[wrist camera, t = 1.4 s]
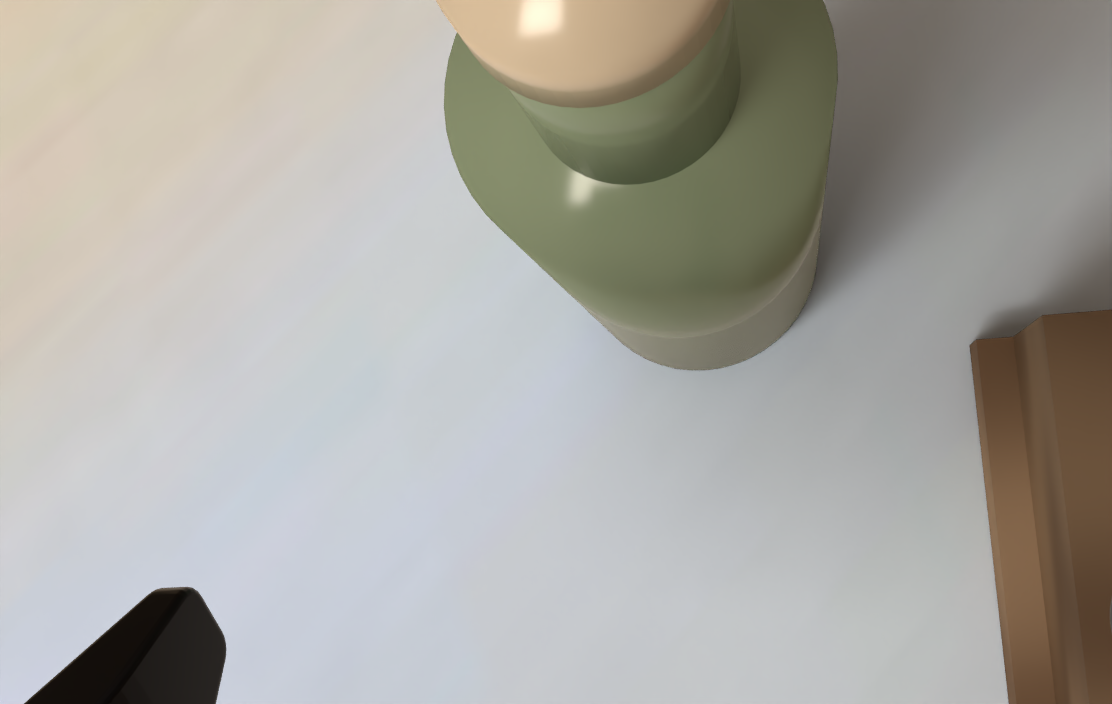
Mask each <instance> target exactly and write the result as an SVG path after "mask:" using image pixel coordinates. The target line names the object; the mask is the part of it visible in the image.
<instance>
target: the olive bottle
mask: <svg viewBox="0 0 1112 704" xmlns="http://www.w3.org/2000/svg"><path fill="white" fill-rule="evenodd" d="M436 1H437V3H438V5H439V6H440V8H441V10H442V12H443V13H444V14H445V16H446V17H447V19H448V20H449V21H450V23H451V24H452V26H453V27H454V28H455V30H456V31H457V34H456V36H455V39H454V43H453V46H452V50H451V53H450V56H449V60H448V66H447V73H446V79H445V93H444V111H445V121H446V131H447V135H448V139H449V143H450V148H451V152H452V155H453V158H454V160H455V163H456V165H457V168H458V170H459V173H460V175H461V177H462V179H463V181H464V183H465V184H466V186H467V188H468V190H469V192H470V193H471V195H472V197H473V198H474V199H475V201H476V202H477V203H478V205H479V206H480V207H481V209H482V210H483V211H484V213H485V214H486V215H487V216H488V217H489V218H490V219H491V220H492V221H493V222H494V223H495V224H496V225H497V226H498V227H499V228H500V229H501V230H502V231H503V232H504V233H505V234H506V235H507V236H508V237H509V238H510V239H512V240H513V241H514V242H515V243H516V244H517V245H518V246H519V247H520V248H521V249H522V250H523V251H524V252H525V253H526V254H527V255H529V256H530V257H531V258H532V259H533V260H534V261H535V262H536V263H537V264H538V265H539V266H540V267H541V268H542V269H543V270H544V271H545V272H547V273H548V274H549V275H550V276H551V277H552V278H553V279H554V280H555V281H556V282H557V283H558V284H559V285H560V286H561V287H562V288H564V289H565V290H566V291H567V292H568V293H569V294H570V295H571V296H572V297H573V298H574V299H575V300H576V301H577V302H578V303H579V304H581V305H582V306H583V307H584V308H585V309H586V310H587V311H588V312H589V313H590V314H591V315H592V316H593V317H594V318H595V319H596V320H598V321H599V322H600V323H601V324H602V325H603V326H604V327H605V328H606V329H607V330H608V331H609V332H610V333H611V334H612V335H613V336H615V337H616V338H617V339H618V340H619V341H620V342H621V343H622V344H623V345H625V346H626V347H627V348H629V349H630V350H631V351H633V352H634V353H636V354H638V355H640V356H641V357H643V358H645V359H647V360H650V361H652V362H655V363H657V364H660V365H663V366H667V367H671V368H675V369H683V370H711V369H718V368H723V367H727V366H730V365H734V364H737V363H740V362H742V361H744V360H747V359H749V358H751V357H753V356H755V355H757V354H758V353H760V352H762V351H763V350H765V349H766V348H768V347H769V346H770V345H772V344H773V343H774V342H775V341H777V340H778V339H779V338H780V337H781V336H782V335H783V334H784V333H785V332H786V331H787V330H788V329H789V327H790V326H791V325H792V324H793V322H794V321H795V320H796V318H797V317H798V316H799V314H800V312H801V310H802V309H803V307H804V305H805V303H806V301H807V299H808V296H809V294H810V291H811V289H812V285H813V281H814V277H815V273H816V265H817V256H818V248H819V239H820V230H821V221H822V213H823V204H824V195H825V186H826V177H827V169H828V160H829V151H830V142H831V134H832V125H833V116H834V107H835V99H836V90H837V81H838V74H837V51H836V45H835V39H834V33H833V28H832V25H831V22H830V19H829V16H828V12H827V9H826V6H825V4H824V2H823V0H436Z"/></svg>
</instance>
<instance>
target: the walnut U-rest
mask: <svg viewBox="0 0 1112 704" xmlns="http://www.w3.org/2000/svg"><path fill="white" fill-rule="evenodd" d="M970 353H971V362H972V371H973V380H974V389H975V399H976V408H977V417H978V426H979V435H980V444H981V453H982V462H983V472H984V481H985V490H986V499H987V508H988V517H989V526H990V535H991V545H992V554H993V563H994V572H995V581H996V590H997V599H998V608H999V618H1000V627H1001V636H1002V645H1003V654H1004V663H1005V672H1006V681H1007V691H1008V700H1009V704H1112V631H1111V625H1110V605H1111V599H1112V310H1102V311H1090V312H1077V313H1065V314H1052V315H1042V316H1041V317H1040V318H1038V319H1037V320H1035V321H1034V322H1033V323H1031V324H1030V325H1029V326H1027V327H1026V328H1025V329H1023V330H1022V331H1021V332H1019V333H1018V334H1016V335H1015V336H1014V337H1005V338H992V339H979V340H975V341H974V342H973V343H972V344H971V345H970Z"/></svg>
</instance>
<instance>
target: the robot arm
mask: <svg viewBox="0 0 1112 704" xmlns="http://www.w3.org/2000/svg"><path fill="white" fill-rule="evenodd" d="M1110 625H1111V631H1112V599H1111V605H1110ZM225 658H226V642H225V638H224V635H223V633H222V631H221V629H220V627H219V626H218V624H217V622H216V620H215V619H214V617H213V615H212V614H211V612H210V610H209V608H208V607H207V605H206V603H205V602H204V600H203V598H202V596H201V595H200V594H199V592H198V591H196V590H195V589H193V588H191V587H174V588H160V589H157V590H155V591H153V592H151V593H150V594H149V595H147V596H146V597H145V598H144V599H143V600H142V601H140V602H139V603H138V604H137V605H136V606H135V607H134V608H132V609H131V610H130V611H129V612H128V613H127V614H126V615H125V616H123V617H122V618H121V619H120V620H119V621H118V622H117V623H115V624H114V625H113V626H112V627H111V628H110V629H109V630H107V631H106V632H105V633H104V634H103V635H102V636H101V637H99V638H98V639H97V640H96V641H95V642H94V643H93V644H91V645H90V646H89V647H88V648H87V649H86V650H85V651H83V652H82V653H81V654H80V655H79V656H78V657H77V658H76V659H74V660H73V661H72V662H71V663H70V664H69V665H68V666H66V667H65V668H64V669H63V670H62V671H61V672H60V673H58V674H57V675H56V676H55V677H54V678H53V679H52V680H50V681H49V682H48V683H47V684H46V685H45V686H44V687H42V688H41V689H40V690H39V691H38V692H37V693H36V694H34V695H33V696H32V697H31V698H30V699H29V700H28V701H27V702H25V703H24V704H216V700H217V696H218V691H219V686H220V682H221V677H222V673H223V668H224V663H225Z"/></svg>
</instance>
